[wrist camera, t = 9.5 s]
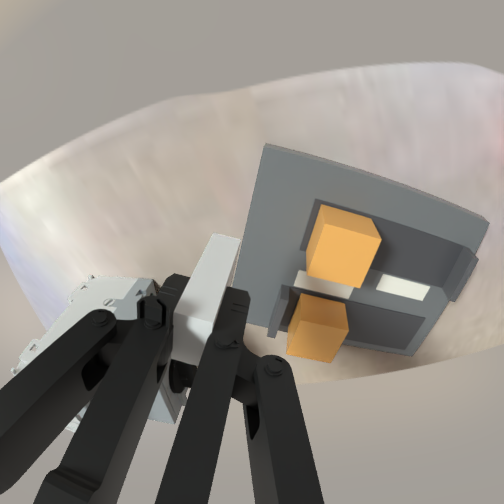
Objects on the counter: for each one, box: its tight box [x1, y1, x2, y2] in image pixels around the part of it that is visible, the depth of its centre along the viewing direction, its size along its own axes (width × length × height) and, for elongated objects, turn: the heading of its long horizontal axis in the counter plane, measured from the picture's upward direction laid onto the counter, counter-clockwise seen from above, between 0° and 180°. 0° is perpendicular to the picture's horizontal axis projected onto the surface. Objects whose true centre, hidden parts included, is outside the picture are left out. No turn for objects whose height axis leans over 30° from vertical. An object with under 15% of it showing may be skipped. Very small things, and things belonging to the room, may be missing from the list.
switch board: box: [232, 143, 490, 356], centre depth 25 cm, size 20×16×4 cm
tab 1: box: [306, 204, 382, 288], centre depth 22 cm, size 4×4×4 cm
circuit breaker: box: [11, 275, 197, 432], centre depth 26 cm, size 8×14×15 cm, turn 93°
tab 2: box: [286, 293, 349, 363], centre depth 26 cm, size 4×4×4 cm
